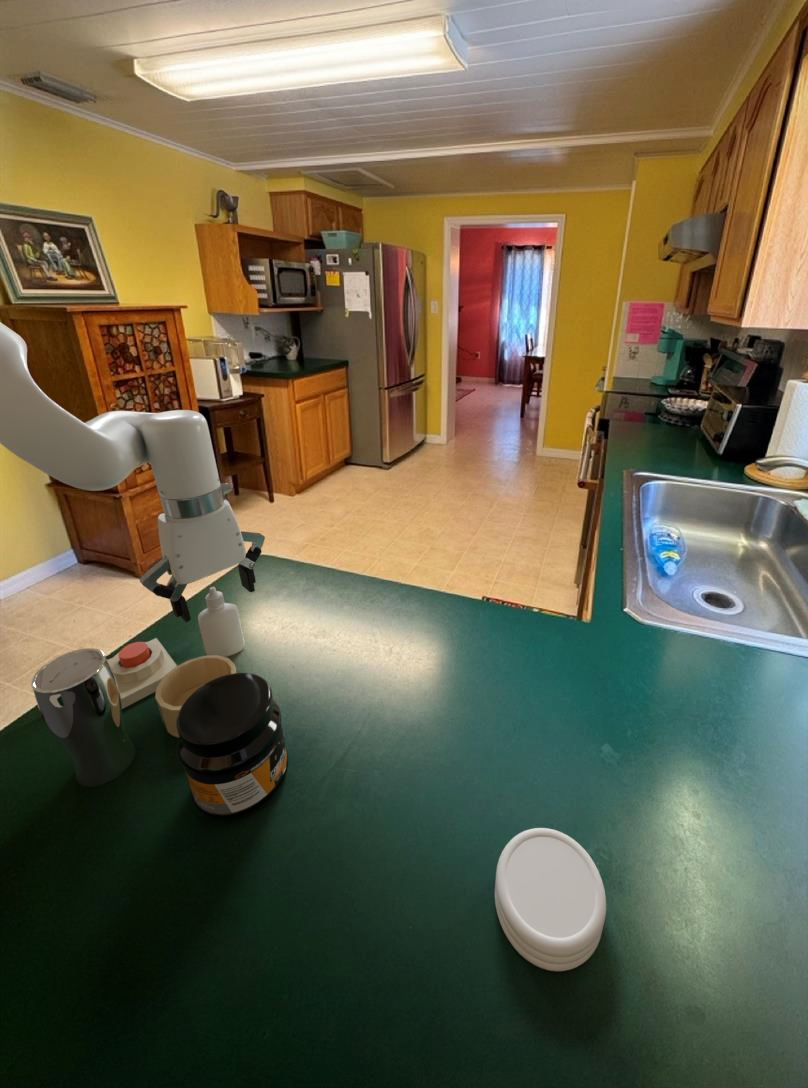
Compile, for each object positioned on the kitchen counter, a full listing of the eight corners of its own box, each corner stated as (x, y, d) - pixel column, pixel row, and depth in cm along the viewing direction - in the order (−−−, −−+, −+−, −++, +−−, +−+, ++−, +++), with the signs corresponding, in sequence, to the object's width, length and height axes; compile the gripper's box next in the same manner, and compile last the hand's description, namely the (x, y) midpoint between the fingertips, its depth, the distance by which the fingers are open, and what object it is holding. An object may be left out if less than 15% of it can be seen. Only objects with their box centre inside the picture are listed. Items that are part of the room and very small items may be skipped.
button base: (100, 672, 71) (94, 654, 70) (159, 646, 76) (153, 628, 75) (120, 710, 65) (113, 691, 63) (182, 678, 70) (177, 659, 69)
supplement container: (251, 839, 50) (231, 760, 45) (171, 809, 52) (145, 731, 48) (307, 752, 59) (295, 679, 54) (237, 731, 62) (220, 660, 57)
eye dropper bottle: (216, 640, 78) (201, 579, 73) (249, 641, 77) (237, 580, 73) (202, 659, 74) (185, 596, 69) (237, 661, 73) (223, 597, 69)
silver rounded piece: (88, 803, 53) (44, 704, 47) (60, 771, 56) (17, 676, 51) (151, 755, 58) (119, 661, 53) (123, 729, 62) (90, 638, 56)
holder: (153, 709, 65) (145, 681, 63) (223, 671, 71) (217, 645, 69) (180, 752, 59) (171, 723, 57) (253, 706, 65) (248, 679, 63)
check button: (118, 659, 69) (115, 650, 69) (145, 647, 72) (142, 638, 71) (125, 672, 67) (122, 662, 66) (153, 658, 69) (150, 649, 69)
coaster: (623, 957, 41) (629, 934, 40) (514, 989, 39) (517, 967, 38) (572, 837, 50) (576, 815, 49) (482, 858, 48) (483, 836, 47)
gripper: (241, 477, 73) (260, 570, 80) (113, 513, 62) (147, 618, 69) (265, 489, 69) (282, 587, 75) (131, 531, 57) (165, 643, 64)
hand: (218, 602), depth 72 cm, fingers open, 9 cm apart
